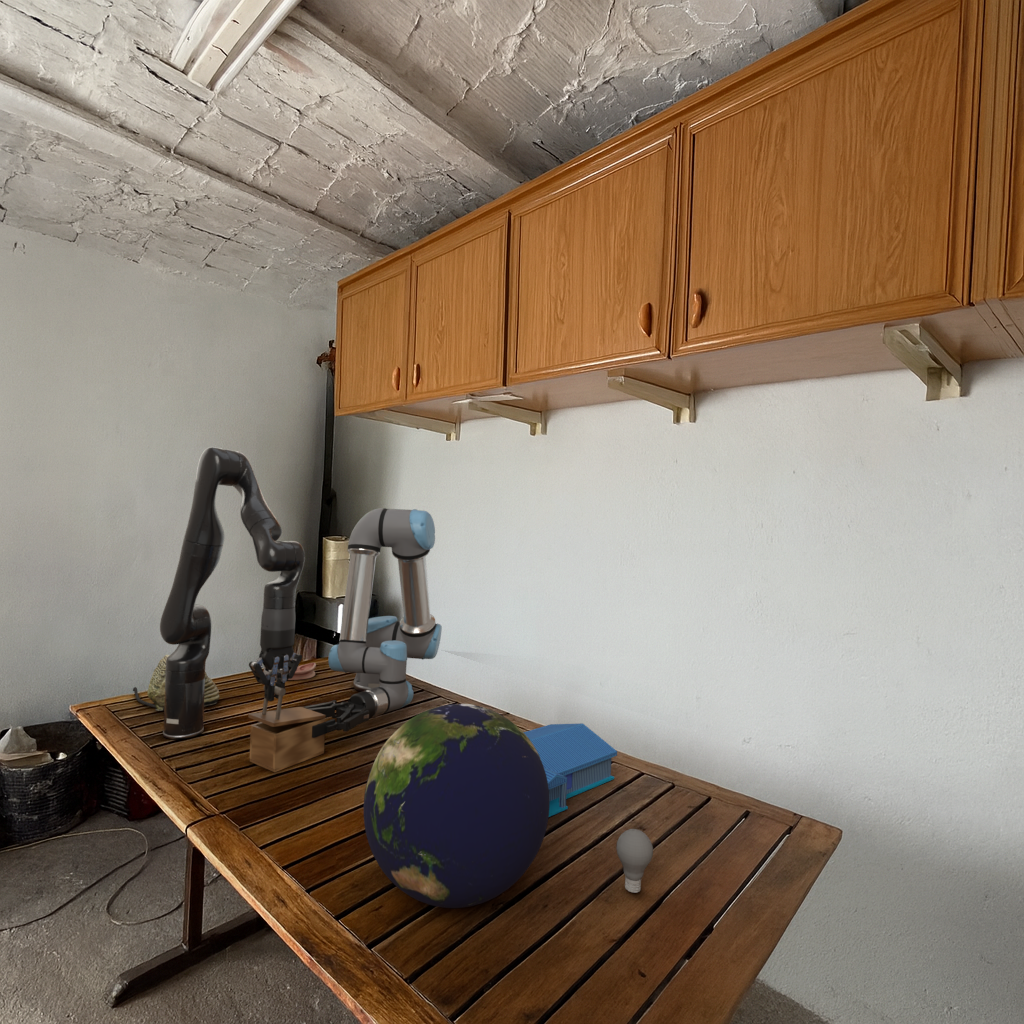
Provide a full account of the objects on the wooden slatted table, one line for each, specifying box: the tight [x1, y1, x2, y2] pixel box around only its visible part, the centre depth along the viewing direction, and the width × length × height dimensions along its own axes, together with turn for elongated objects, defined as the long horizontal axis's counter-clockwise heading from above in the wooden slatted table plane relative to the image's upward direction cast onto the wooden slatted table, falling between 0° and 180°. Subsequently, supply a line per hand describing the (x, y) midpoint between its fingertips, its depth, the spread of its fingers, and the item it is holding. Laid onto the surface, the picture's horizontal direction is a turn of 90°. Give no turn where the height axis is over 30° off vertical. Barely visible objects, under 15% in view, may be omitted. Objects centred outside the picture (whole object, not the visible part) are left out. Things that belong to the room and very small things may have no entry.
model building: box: [523, 722, 618, 818], centre depth 142 cm, size 39×24×10 cm, turn 132°
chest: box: [248, 718, 326, 773], centre depth 153 cm, size 14×10×9 cm
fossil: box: [147, 654, 221, 712], centre depth 185 cm, size 9×18×15 cm, turn 132°
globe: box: [363, 703, 550, 909], centre depth 103 cm, size 30×30×30 cm
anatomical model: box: [275, 662, 317, 681], centre depth 220 cm, size 13×4×12 cm
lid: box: [247, 684, 326, 727], centre depth 153 cm, size 15×10×8 cm, turn 147°
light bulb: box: [615, 828, 654, 894], centre depth 106 cm, size 6×6×10 cm
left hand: (274, 699), depth 149 cm, fingers closed on lid, 2 cm apart
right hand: (299, 727), depth 155 cm, fingers closed on chest, 9 cm apart
